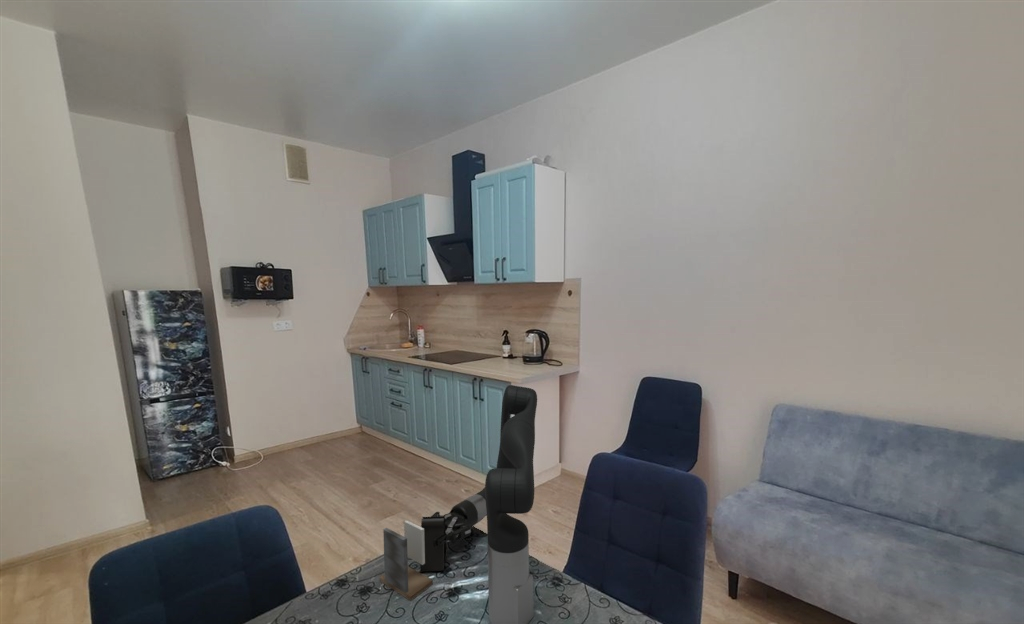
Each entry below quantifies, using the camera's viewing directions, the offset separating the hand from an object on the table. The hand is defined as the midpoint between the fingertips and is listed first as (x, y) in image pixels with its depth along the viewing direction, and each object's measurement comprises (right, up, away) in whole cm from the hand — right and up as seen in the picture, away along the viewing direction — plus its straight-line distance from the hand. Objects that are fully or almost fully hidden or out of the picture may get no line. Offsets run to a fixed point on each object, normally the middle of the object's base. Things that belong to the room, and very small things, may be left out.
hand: (426, 539), depth 108 cm
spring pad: (-3, -6, -3) cm, 7 cm away
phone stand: (+2, -7, +2) cm, 8 cm away
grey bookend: (-4, -8, -5) cm, 10 cm away
